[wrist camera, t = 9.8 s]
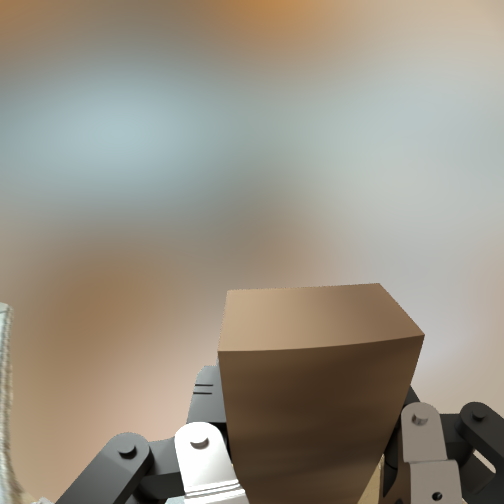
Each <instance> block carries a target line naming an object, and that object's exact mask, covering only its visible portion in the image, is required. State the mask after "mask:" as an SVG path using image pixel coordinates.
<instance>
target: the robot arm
mask: <svg viewBox="0 0 504 504" xmlns="http://www.w3.org/2000/svg"><path fill="white" fill-rule="evenodd" d="M475 450H477V451H478V452H479V453H481V454H482V455H483V456H484V457H485V458H486V459H487V460H488V461H489V462H490V463H491V464H492V465H494V467H495V469H496V473H493V472H492V471H491V470H490V469H489V468H487V467H486V466H485V465H484V464H483V463H482V462H481V461H480V460H479V459H478V458H477V457H476V456H475V455H474V454H473V453H474V451H475ZM383 454H384V455H383V457H382V459H381V469H380V487H379V500H378V504H462V498H463V499H464V500H465V501H466V502H467V503H468V504H504V419H503V418H502V417H501V416H500V415H498V414H497V413H496V412H495V411H493V410H492V409H491V408H489V407H488V406H487V405H485V404H483V403H480V402H470V403H468V404H466V405H465V406H463V408H462V409H461V411H460V413H459V414H439V413H438V411H437V410H436V409H435V408H434V407H433V406H431V405H429V404H427V403H422V402H420V401H419V399H418V397H417V395H416V394H415V392H414V390H413V389H412V387H411V385H410V387H409V390H408V393H407V396H406V398H405V401H404V404H403V407H402V409H401V412H400V415H399V417H398V420H397V422H396V425H395V427H394V430H393V432H392V434H391V437H390V439H389V441H388V444H387V446H386V448H385V450H384V453H383ZM232 464H233V463H232V457H231V450H230V444H229V437H228V430H227V423H226V416H225V408H224V401H223V393H222V385H221V377H220V368H219V360H218V358H217V364H216V366H204V367H203V368H202V369H201V371H200V372H199V373H198V374H197V378H196V382H195V386H194V391H193V395H192V400H191V405H190V409H189V414H188V418H187V423H186V426H184V427H183V428H181V429H180V430H179V431H178V433H177V434H176V436H174V437H172V438H170V439H166V440H160V441H153V442H147V440H146V439H145V438H144V437H143V436H141V435H139V434H136V433H121V434H119V435H116V436H114V437H113V438H112V439H110V440H109V442H108V443H107V444H106V445H105V446H104V447H103V449H102V450H101V451H100V452H99V453H98V454H97V456H96V457H95V458H94V459H93V460H92V461H91V463H90V464H89V465H88V466H87V467H86V468H85V470H84V471H83V472H82V473H81V474H80V475H79V476H78V478H77V479H76V480H75V481H74V482H73V483H72V485H71V486H70V487H69V488H68V489H67V490H66V492H65V493H64V494H63V495H62V496H61V497H60V498H59V499H58V501H57V502H56V503H55V504H165V502H166V501H167V499H168V498H172V497H178V496H184V495H185V503H186V504H249V501H248V499H247V497H246V494H245V492H244V489H243V487H242V486H241V485H240V484H239V482H238V480H237V477H236V475H235V472H234V469H233V466H232Z"/></svg>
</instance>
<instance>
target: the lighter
mask: <svg viewBox="0 0 504 504" xmlns="http://www.w3.org/2000/svg"><path fill="white" fill-rule="evenodd" d="M31 504H53V503H52V502H50V501H49V500H47V499H46V498H44V497H41V498H40V500H39V501H38V502H36V503H34V502H32V503H31Z"/></svg>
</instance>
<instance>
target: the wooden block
mask: <svg viewBox="0 0 504 504" xmlns="http://www.w3.org/2000/svg"><path fill="white" fill-rule="evenodd" d="M424 336H425V334H424V333H423V332H422V331H421V329H420V328H419V327H418V326H417V325H416V324H415V322H414V321H413V320H412V319H411V318H410V317H409V316H408V314H407V313H406V312H405V311H404V310H403V309H402V308H401V307H400V305H398V303H397V302H396V301H395V300H394V299H393V298H392V297H391V295H389V293H388V292H387V291H386V290H385V289H384V288H383V287H382V286H381V285H380V284H379V283H376V284H375V283H374V284H359V285H343V286H342V285H341V286H323V287H303V288H278V289H246V290H228V293H227V299H226V304H225V310H224V316H223V322H222V328H221V333H220V339H219V345H218V360H219V368H220V377H221V385H222V393H223V401H224V408H225V416H226V423H227V430H228V437H229V444H230V450H231V457H232V463H233V469H234V472H235V475H236V477H237V480H238V482H239V484H240V485H241V486H242V487H243V489H244V492H245V494H246V497H247V499H248V501H249V504H357V503H358V502H359V500H360V498H361V496H362V494H363V493H364V491H365V489H366V487H367V485H368V483H369V481H370V479H371V477H372V475H373V474H374V472H375V469H376V467H377V465H378V463H379V461H380V459H381V457H382V455H383V453H384V450H385V448H386V446H387V444H388V441H389V439H390V437H391V434H392V432H393V430H394V427H395V425H396V422H397V420H398V417H399V415H400V412H401V409H402V407H403V404H404V401H405V398H406V396H407V393H408V390H409V387H410V384H411V381H412V377H413V375H414V371H415V368H416V365H417V362H418V358H419V355H420V351H421V348H422V344H423V340H424Z"/></svg>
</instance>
